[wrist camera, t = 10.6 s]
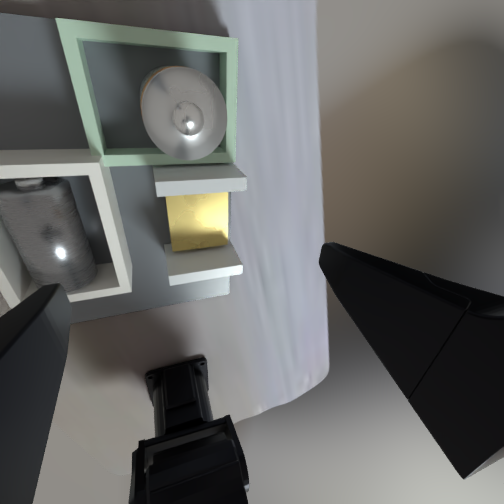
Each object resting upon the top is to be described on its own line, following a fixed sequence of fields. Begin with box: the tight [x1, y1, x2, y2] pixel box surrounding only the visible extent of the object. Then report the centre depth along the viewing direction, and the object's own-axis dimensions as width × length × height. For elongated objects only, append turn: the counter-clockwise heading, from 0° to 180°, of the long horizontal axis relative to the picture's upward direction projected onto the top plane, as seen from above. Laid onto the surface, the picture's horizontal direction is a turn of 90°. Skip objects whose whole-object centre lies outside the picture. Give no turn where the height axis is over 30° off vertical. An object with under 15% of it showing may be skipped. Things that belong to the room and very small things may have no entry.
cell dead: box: [0, 177, 98, 293], centre depth 16 cm, size 6×3×3 cm, turn 176°
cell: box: [139, 66, 227, 160], centre depth 13 cm, size 3×3×6 cm
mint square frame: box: [0, 13, 247, 324], centre depth 17 cm, size 19×14×5 cm
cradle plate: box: [165, 192, 228, 252], centre depth 19 cm, size 5×4×1 cm
